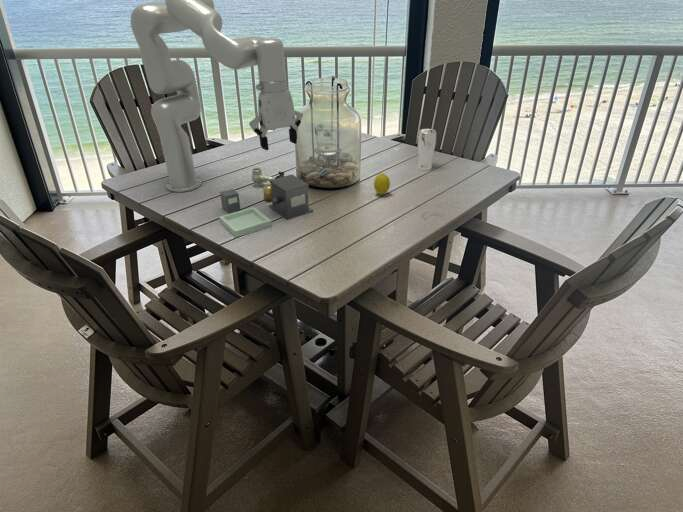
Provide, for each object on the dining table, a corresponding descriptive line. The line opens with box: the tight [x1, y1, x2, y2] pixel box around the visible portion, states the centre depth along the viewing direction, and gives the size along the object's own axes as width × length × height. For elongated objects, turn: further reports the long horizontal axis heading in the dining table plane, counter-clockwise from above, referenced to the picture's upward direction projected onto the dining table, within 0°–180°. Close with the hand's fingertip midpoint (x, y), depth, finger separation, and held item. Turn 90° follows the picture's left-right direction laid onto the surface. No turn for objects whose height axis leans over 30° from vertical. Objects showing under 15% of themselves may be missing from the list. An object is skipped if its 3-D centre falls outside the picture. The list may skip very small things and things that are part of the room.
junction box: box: [268, 174, 314, 220], centre depth 149 cm, size 12×11×10 cm
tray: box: [218, 206, 273, 238], centre depth 142 cm, size 12×12×2 cm
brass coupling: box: [262, 183, 272, 203], centre depth 157 cm, size 4×4×5 cm
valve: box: [251, 167, 285, 189], centre depth 166 cm, size 7×7×12 cm
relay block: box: [219, 188, 241, 214], centre depth 150 cm, size 5×4×6 cm
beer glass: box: [416, 128, 437, 171], centre depth 179 cm, size 7×7×15 cm
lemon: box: [373, 172, 391, 196], centre depth 159 cm, size 6×6×8 cm
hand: (279, 145), depth 137 cm, fingers open, 9 cm apart
